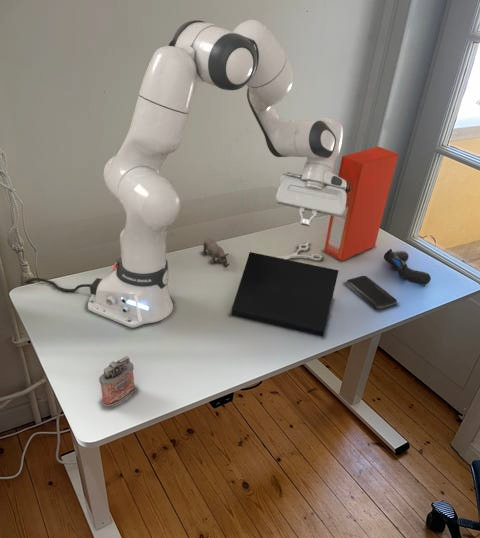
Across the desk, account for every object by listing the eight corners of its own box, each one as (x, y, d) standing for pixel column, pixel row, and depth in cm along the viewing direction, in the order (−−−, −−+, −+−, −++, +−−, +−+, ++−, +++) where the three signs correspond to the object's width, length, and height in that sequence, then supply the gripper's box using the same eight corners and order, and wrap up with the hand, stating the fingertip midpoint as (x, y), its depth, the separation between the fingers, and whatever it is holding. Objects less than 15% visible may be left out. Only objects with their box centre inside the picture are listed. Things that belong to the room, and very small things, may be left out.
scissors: (327, 256, 163) (275, 269, 154) (327, 258, 164) (275, 271, 155) (308, 241, 170) (258, 252, 161) (308, 243, 171) (257, 254, 162)
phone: (378, 307, 142) (345, 280, 152) (377, 311, 142) (344, 283, 152) (399, 301, 145) (365, 274, 155) (398, 304, 146) (365, 278, 156)
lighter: (108, 410, 107) (104, 376, 100) (99, 402, 108) (94, 368, 102) (138, 391, 112) (136, 358, 105) (129, 383, 113) (126, 350, 107)
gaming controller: (395, 265, 168) (376, 253, 163) (407, 251, 166) (388, 239, 161) (422, 293, 156) (402, 282, 150) (435, 279, 154) (415, 267, 148)
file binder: (323, 250, 168) (342, 155, 148) (356, 237, 177) (378, 146, 157) (341, 261, 163) (363, 164, 143) (374, 246, 172) (399, 154, 153)
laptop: (248, 281, 150) (249, 275, 149) (332, 299, 145) (333, 293, 144) (231, 315, 136) (231, 309, 135) (323, 336, 132) (324, 331, 130)
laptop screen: (249, 253, 141) (249, 251, 141) (338, 271, 137) (338, 270, 136) (231, 310, 135) (231, 308, 134) (324, 331, 130) (324, 330, 130)
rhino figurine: (222, 274, 152) (223, 257, 148) (199, 253, 161) (200, 236, 157) (233, 271, 154) (234, 254, 150) (211, 250, 162) (211, 233, 159)
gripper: (280, 168, 144) (268, 215, 145) (351, 182, 140) (339, 231, 141) (282, 173, 150) (271, 219, 151) (351, 188, 146) (338, 234, 147)
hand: (304, 225), depth 146 cm, fingers closed
